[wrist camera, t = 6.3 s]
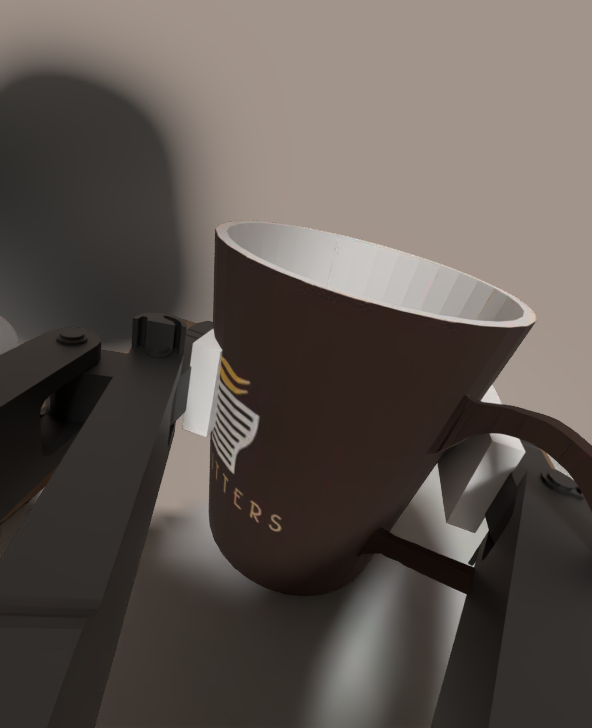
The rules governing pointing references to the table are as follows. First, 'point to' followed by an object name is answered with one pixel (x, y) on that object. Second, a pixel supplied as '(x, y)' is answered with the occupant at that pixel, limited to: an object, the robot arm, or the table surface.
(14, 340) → the mat
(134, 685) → the table surface
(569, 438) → the coffee mug
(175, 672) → the table surface
